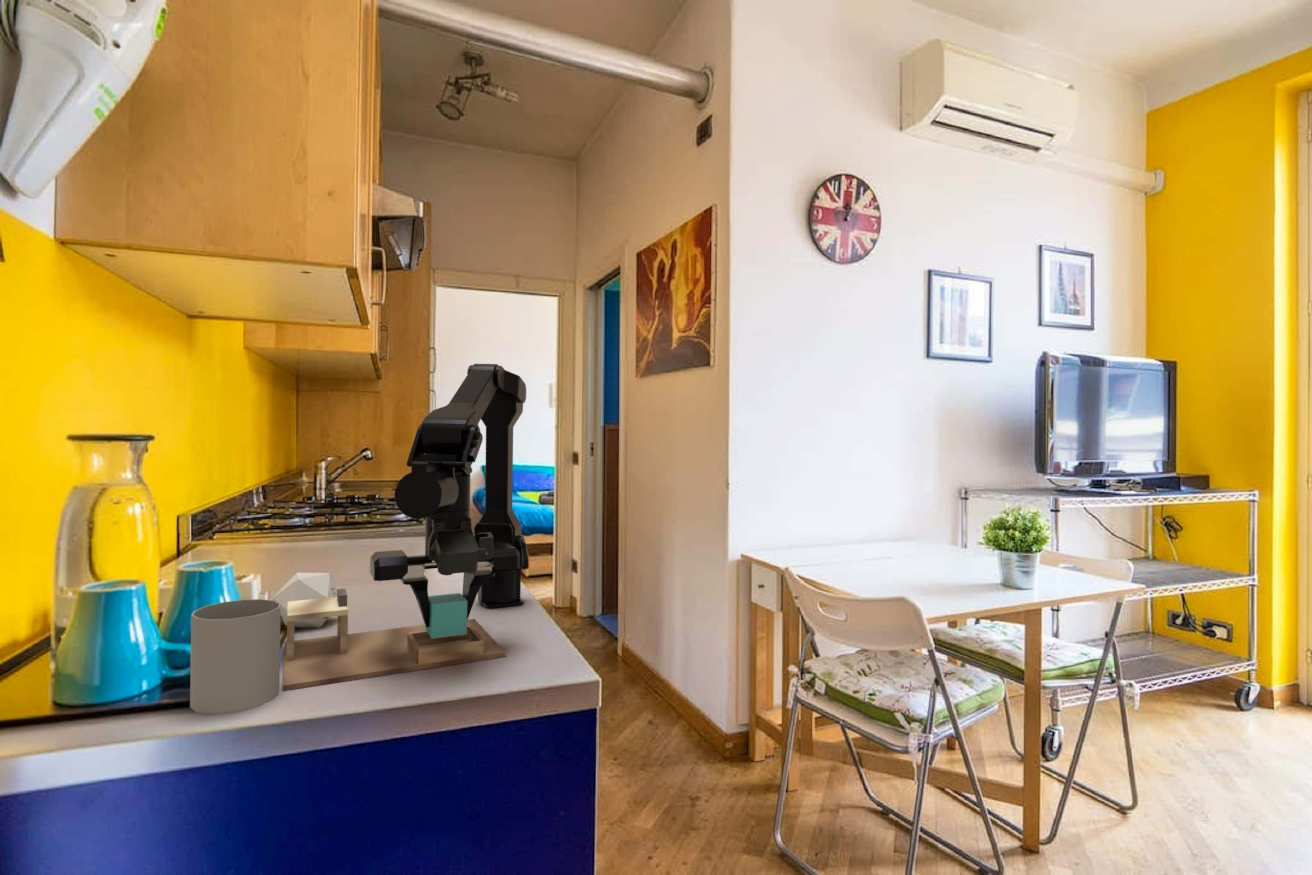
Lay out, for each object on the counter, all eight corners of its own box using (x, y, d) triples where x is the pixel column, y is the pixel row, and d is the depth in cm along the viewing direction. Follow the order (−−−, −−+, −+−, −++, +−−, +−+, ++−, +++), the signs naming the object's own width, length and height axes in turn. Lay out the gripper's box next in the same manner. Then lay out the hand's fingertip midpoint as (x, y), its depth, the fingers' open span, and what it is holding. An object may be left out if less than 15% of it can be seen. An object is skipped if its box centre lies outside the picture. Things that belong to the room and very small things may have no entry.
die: (293, 641, 94) (339, 584, 97) (249, 608, 96) (295, 553, 98) (320, 644, 102) (361, 591, 105) (278, 613, 103) (321, 562, 106)
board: (474, 622, 103) (474, 607, 103) (505, 656, 88) (505, 638, 88) (284, 646, 90) (285, 628, 90) (283, 690, 75) (283, 669, 75)
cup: (296, 687, 76) (297, 602, 76) (236, 717, 68) (238, 622, 68) (235, 680, 78) (236, 597, 78) (170, 708, 70) (172, 615, 70)
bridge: (343, 635, 93) (344, 585, 93) (347, 652, 86) (348, 598, 86) (287, 642, 89) (287, 590, 89) (286, 660, 83) (287, 603, 83)
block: (459, 624, 91) (459, 592, 91) (466, 634, 87) (467, 600, 87) (425, 629, 89) (426, 596, 89) (431, 638, 85) (432, 604, 85)
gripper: (380, 520, 76) (378, 652, 76) (534, 513, 85) (531, 631, 86) (370, 509, 86) (368, 626, 86) (509, 504, 95) (507, 610, 95)
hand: (446, 624), depth 88 cm, fingers closed on block, 4 cm apart
